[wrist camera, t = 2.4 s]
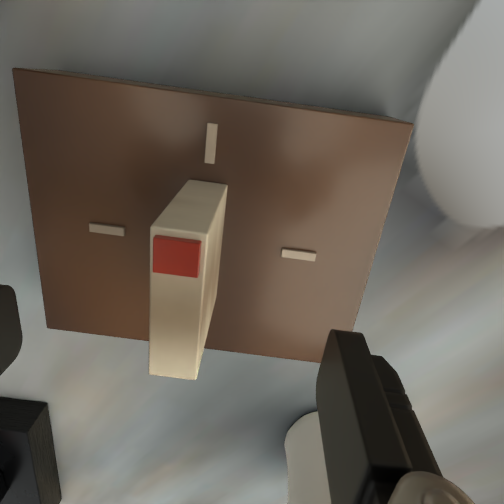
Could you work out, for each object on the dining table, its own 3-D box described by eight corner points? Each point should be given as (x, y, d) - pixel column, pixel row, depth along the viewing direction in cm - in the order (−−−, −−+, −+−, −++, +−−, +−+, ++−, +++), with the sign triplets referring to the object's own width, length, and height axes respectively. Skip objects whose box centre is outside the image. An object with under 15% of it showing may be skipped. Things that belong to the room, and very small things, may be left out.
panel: (77, 294, 20) (44, 330, 17) (57, 70, 15) (7, 66, 12) (332, 327, 20) (342, 368, 17) (389, 116, 15) (416, 124, 13)
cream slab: (216, 296, 16) (194, 387, 11) (182, 291, 16) (145, 380, 11) (227, 184, 14) (207, 237, 9) (188, 178, 14) (146, 229, 9)
